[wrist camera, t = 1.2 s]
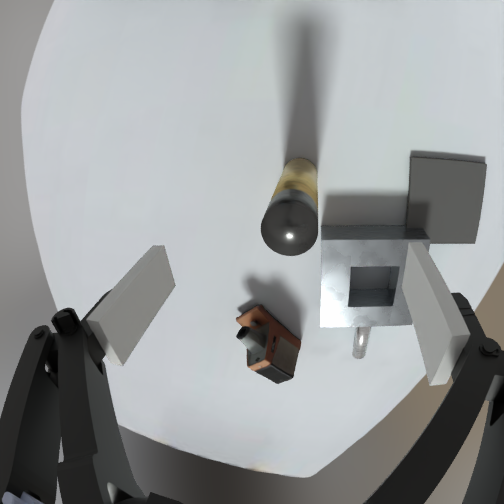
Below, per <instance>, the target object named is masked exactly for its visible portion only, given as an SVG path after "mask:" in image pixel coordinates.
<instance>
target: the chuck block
mask: <svg viewBox="0 0 504 504" xmlns="http://www.w3.org/2000/svg"><path fill="white" fill-rule="evenodd" d="M430 240H431V239H430V238H429V236H428V235H427V234H426V232H425V231H424V229H423V228H407V227H406V226H321V322H320V327H356V333H355V340H354V346H353V352H352V355H353V357H355V358H357V359H361V358H363V357H364V356H365V354H366V349H367V344H368V339H369V334H370V328H371V326H398V325H412V322H413V321H412V318H411V314H410V311H409V308H408V305H407V302H406V299H405V296H404V293H403V290H402V283H403V277H404V271H405V265H406V259H407V252H408V244H409V242H422V243H423V245H424V246H425V248H426V250H427V251H428V252H429V246H430ZM366 266H391V273H390V280H389V286H388V289H352V290H349V286H350V272H351V267H366Z"/></svg>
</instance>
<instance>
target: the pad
mask: <svg viewBox="0 0 504 504" xmlns="http://www.w3.org/2000/svg"><path fill="white" fill-rule="evenodd" d="M486 168H487V164H485V163H480V162H472V161H462V160H452V159H440V158H426V157H410V172H409V192H408V206H407V218H406V227H407V228H423V229H424V231H425V232H426V234H427V235H428V236H429V238H430V239H431V240H430V244H475V241H476V236H477V231H478V226H479V220H480V215H481V209H482V202H483V195H484V187H485V178H486Z"/></svg>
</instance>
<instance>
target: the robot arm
mask: <svg viewBox="0 0 504 504" xmlns="http://www.w3.org/2000/svg"><path fill="white" fill-rule="evenodd" d="M175 286H176V285H175V282H174V278H173V275H172V271H171V268H170V264H169V261H168V257H167V254H166V250H165V246H164V245H161V246H152V247H151V248H150V249H149V250H148V251H147V252H146V253H145V255H144V256H143V257H142V258H141V259H140V260H139V261H138V262H137V263H136V264H135V265H134V266H133V267H132V268H131V269H130V270H129V272H128V273H127V274H126V275H125V276H124V277H123V278H122V279H121V280H120V281H119V282H118V284H117V285H116V286H115V287H114V288H113V289H111V290H110V291H108V292H107V293H105V294H104V295H103V296H102V297H101V299H100V300H99V302H97V303H96V304H95V305H94V307H93V308H92V309H91V310H90V311H89V312H88V313H87V314H86V316H85V317H84V318H83V319H82V320H81V321H80V320H79V318H78V316H77V314H76V312H75V310H74V309H72V308H65V309H62V310H60V311H59V312H57V313H56V314H55V315H54V316H53V318H52V320H51V321H52V323H53V325H54V327H55V329H56V330H57V332H58V333H52V332H51V330H50V328H49V327H48V326H46V325H43V326H39V327H37V328H35V329H34V330H33V331H32V333H31V334H30V336H29V338H28V341H27V343H26V345H25V348H24V350H23V353H22V355H21V358H20V360H19V363H18V366H17V368H16V371H15V374H14V377H13V379H12V382H11V385H10V388H9V391H8V394H7V398H6V401H5V404H4V407H3V411H2V414H1V418H0V504H55V500H56V489H57V476H58V482H59V487H60V493H61V498H62V503H63V504H182V503H181V502H179V501H176V500H173V499H170V498H167V497H164V496H160V495H158V494H155V493H152V492H150V495H149V497H145V495H144V494H143V492H142V490H141V489H140V488H139V486H138V485H137V484H136V482H135V480H134V478H133V474H132V471H131V469H130V465H129V462H128V459H127V456H126V453H125V449H124V446H123V442H122V439H121V435H120V432H119V428H118V424H117V420H116V416H115V412H114V407H113V403H112V398H111V394H110V389H109V384H108V379H107V373H106V368H105V364H104V362H103V360H102V359H103V358H104V356H105V355H106V356H107V358H108V360H109V361H110V363H112V364H116V365H120V366H123V365H124V364H125V362H126V361H127V359H128V357H129V356H130V354H131V353H132V351H133V350H134V348H135V346H136V345H137V343H138V342H139V340H140V339H141V337H142V336H143V334H144V333H145V331H146V329H147V328H148V326H149V325H150V323H151V322H152V320H153V319H154V317H155V316H156V314H157V313H158V311H159V310H160V308H161V307H162V305H163V304H164V302H165V301H166V299H167V298H168V296H169V295H170V293H171V292H172V290H173V289H174V287H175ZM402 290H403V293H404V296H405V299H406V302H407V305H408V308H409V311H410V314H411V318H412V321H413V324H414V327H415V331H416V334H417V338H418V341H419V345H420V349H421V352H422V356H423V360H424V364H425V368H426V372H427V376H428V380H429V385H430V386H432V385H439V384H446V383H447V381H448V379H449V377H450V375H452V378H453V384H452V386H451V388H450V389H449V391H448V393H447V394H446V396H445V398H444V400H443V401H442V403H441V405H440V406H439V408H438V409H437V411H436V413H435V414H434V416H433V418H432V419H431V420H430V422H429V423H428V425H427V426H426V428H425V429H424V431H423V432H422V434H421V435H420V436H419V438H418V439H417V440H416V442H415V443H414V445H413V446H412V447H411V449H410V450H409V451H408V453H407V454H406V455H405V456H404V458H403V459H402V460H401V461H400V463H399V464H398V465H397V466H396V468H395V469H394V470H393V471H392V472H391V474H390V475H389V476H388V477H387V478H386V479H385V480H384V482H383V483H382V484H381V485H380V486H379V487H378V488H377V489H376V490H375V491H374V493H373V494H372V495H371V496H370V497H369V498H368V499H367V500H366V501H365V502H364V503H363V504H424V503H425V502H426V500H427V499H428V498H429V496H430V495H431V493H432V492H433V491H434V489H435V488H436V486H437V485H438V483H439V482H440V480H441V479H442V478H443V476H444V475H445V473H446V472H447V470H448V468H449V467H450V465H451V464H452V462H453V460H454V459H455V457H456V455H457V454H458V452H459V450H460V449H461V447H462V445H463V443H464V441H465V440H466V438H467V436H468V434H469V432H470V430H471V428H472V426H473V424H474V422H475V420H476V418H477V416H478V414H479V412H480V410H481V407H482V405H483V403H484V401H485V400H487V401H489V407H488V413H487V418H486V423H485V428H484V433H483V437H482V442H481V446H480V450H479V454H478V457H477V461H476V464H475V468H474V471H473V474H472V477H471V480H470V483H469V486H468V489H467V492H466V495H465V497H464V500H463V502H462V504H504V351H502V350H501V347H500V346H499V345H498V343H497V342H495V341H494V340H493V339H491V338H487V337H486V336H485V334H484V331H483V329H482V327H481V326H480V323H479V321H478V319H477V317H476V316H475V313H474V311H473V309H471V306H470V304H469V302H468V300H467V299H466V298H465V297H464V296H463V295H462V294H461V293H450V291H449V289H448V287H447V285H446V283H445V281H444V279H443V278H442V276H441V274H440V272H439V270H438V268H437V267H436V265H435V263H434V261H433V260H432V258H431V256H430V255H429V253H428V251H427V250H426V248H425V246H424V245H423V243H422V242H409V244H408V252H407V259H406V265H405V271H404V277H403V283H402ZM45 364H46V365H47V367H48V368H49V369H48V372H46V370H45ZM61 437H62V447H63V454H64V461H63V462H60V463H58V459H59V449H60V440H61Z"/></svg>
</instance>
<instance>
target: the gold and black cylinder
mask: <svg viewBox="0 0 504 504" xmlns="http://www.w3.org/2000/svg"><path fill="white" fill-rule="evenodd" d="M261 234H262V237H263V240H264V241H265V243H266V244H267V246H268V247H269V248H271V249H272V250H273V251H275V252H277V253H279V254H282V255H286V256H295V255H300V254H302V253H305V252H306V251H308V250H309V249H310V248H311V247H312V246H313V245H314V243H315V242H316V239H317V236H318V186H317V170H316V168H315V166H314V165H313V164H312V163H311V162H310V161H309V160H307V159H304V158H296V159H293V160H291V161H289V162H288V163H287V164H286V166H285V168H284V170H283V172H282V175H281V177H280V180H279V182H278V184H277V187H276V189H275V191H274V194H273V196H272V199H271V201H270V203H269V206H268V208H267V210H266V213H265V215H264V218H263V220H262V223H261Z"/></svg>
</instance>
